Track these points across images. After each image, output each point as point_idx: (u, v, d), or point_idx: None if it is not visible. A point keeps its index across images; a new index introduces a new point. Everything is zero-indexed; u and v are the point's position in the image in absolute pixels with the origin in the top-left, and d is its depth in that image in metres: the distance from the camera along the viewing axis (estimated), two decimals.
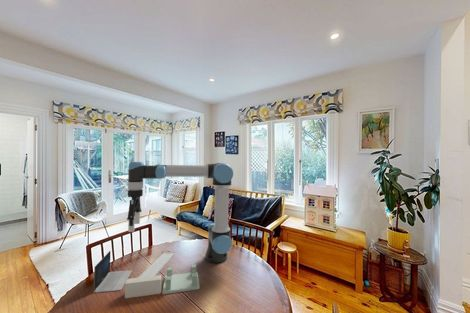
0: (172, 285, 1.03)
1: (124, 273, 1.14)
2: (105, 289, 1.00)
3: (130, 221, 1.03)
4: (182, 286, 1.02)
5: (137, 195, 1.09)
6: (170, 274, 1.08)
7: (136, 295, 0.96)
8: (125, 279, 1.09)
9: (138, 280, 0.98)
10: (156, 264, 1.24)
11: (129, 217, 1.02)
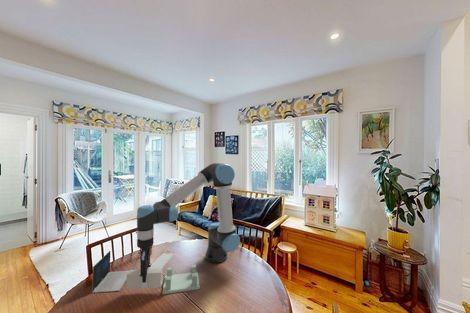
0: (172, 285, 1.03)
1: (123, 274, 1.14)
2: (103, 289, 1.00)
3: (143, 277, 0.95)
4: (182, 286, 1.02)
5: (148, 245, 0.96)
6: (170, 274, 1.08)
7: (137, 287, 0.97)
8: (124, 279, 1.08)
9: (139, 272, 0.98)
10: (156, 264, 1.24)
11: (142, 275, 0.93)
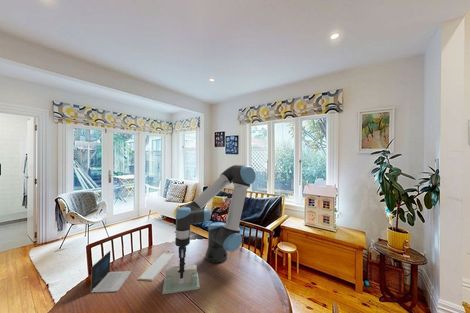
0: (172, 285, 1.03)
1: (123, 274, 1.13)
2: (102, 290, 1.00)
3: (181, 274, 1.03)
4: (182, 286, 1.02)
5: (186, 244, 1.05)
6: None
7: (175, 282, 1.05)
8: (123, 280, 1.08)
9: (176, 268, 1.06)
10: (156, 264, 1.23)
11: (181, 271, 1.01)
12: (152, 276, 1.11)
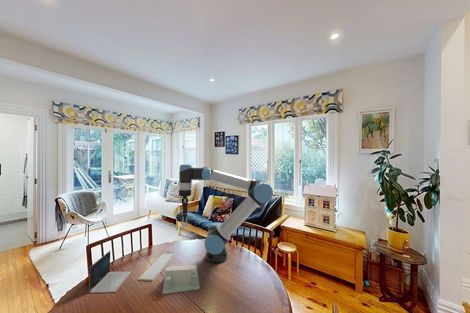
0: (172, 285, 1.03)
1: (122, 274, 1.13)
2: (100, 290, 0.99)
3: (184, 218, 1.15)
4: (182, 286, 1.02)
5: (188, 194, 1.21)
6: None
7: (175, 282, 1.05)
8: (122, 280, 1.07)
9: (176, 268, 1.06)
10: (156, 265, 1.23)
11: (184, 214, 1.14)
12: (152, 276, 1.11)
